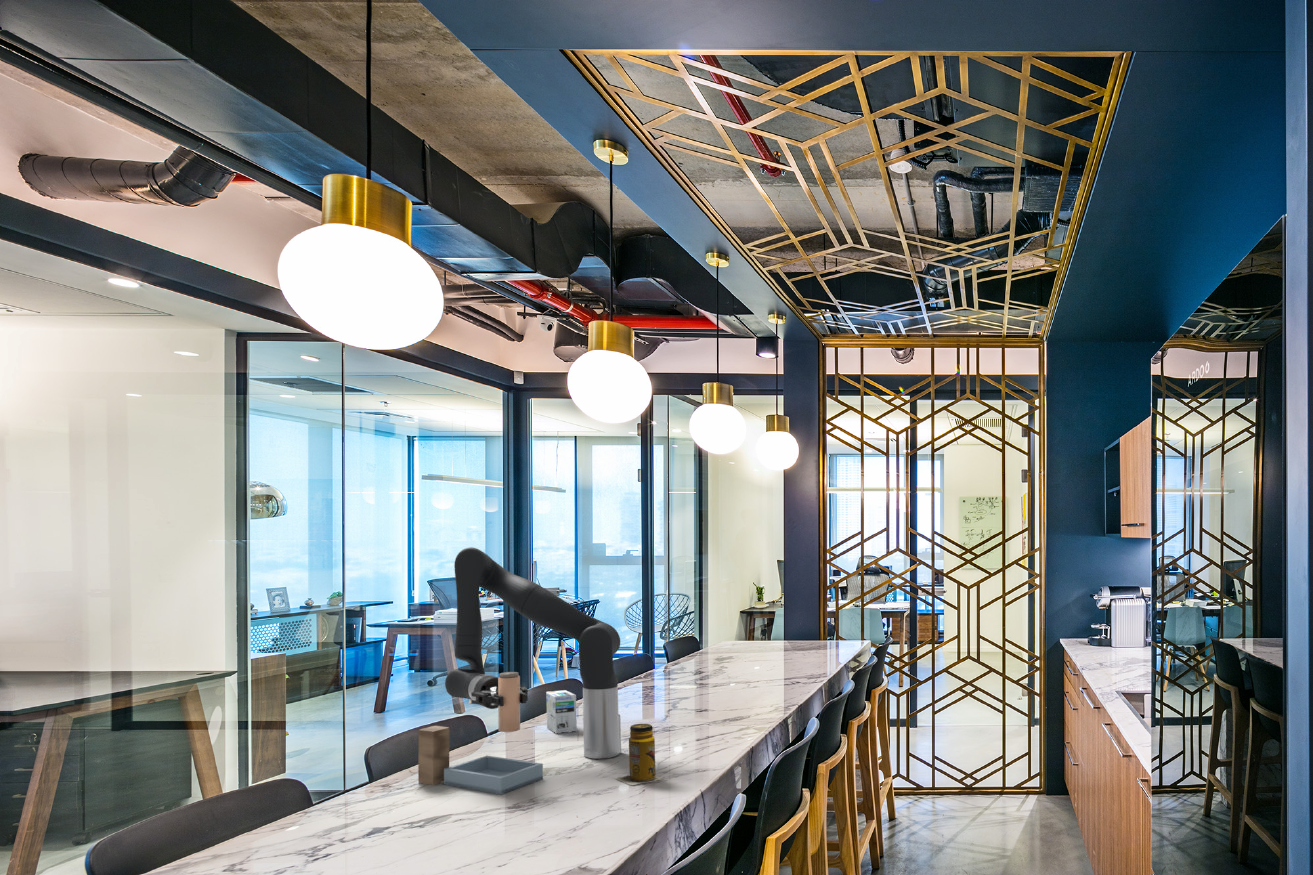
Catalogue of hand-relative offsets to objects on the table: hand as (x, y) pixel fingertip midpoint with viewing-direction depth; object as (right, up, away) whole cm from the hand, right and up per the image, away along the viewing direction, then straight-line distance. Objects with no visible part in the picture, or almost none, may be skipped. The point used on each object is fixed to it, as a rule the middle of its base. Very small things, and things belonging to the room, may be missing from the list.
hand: (513, 700), depth 194 cm
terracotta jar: (-1, -7, +1) cm, 7 cm away
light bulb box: (+5, -27, +56) cm, 62 cm away
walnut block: (-19, -20, +3) cm, 28 cm away
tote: (-5, -19, +1) cm, 20 cm away
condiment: (+29, -18, -1) cm, 35 cm away
